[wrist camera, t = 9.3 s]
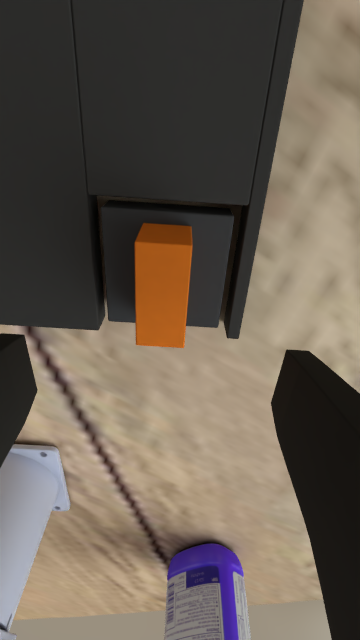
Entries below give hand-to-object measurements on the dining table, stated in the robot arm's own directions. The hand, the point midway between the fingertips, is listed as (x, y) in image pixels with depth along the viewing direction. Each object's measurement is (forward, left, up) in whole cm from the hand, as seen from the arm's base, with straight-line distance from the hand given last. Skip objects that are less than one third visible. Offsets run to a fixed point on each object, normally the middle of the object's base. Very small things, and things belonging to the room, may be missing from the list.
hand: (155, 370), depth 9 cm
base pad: (-4, +4, -8) cm, 10 cm away
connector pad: (0, 0, -8) cm, 8 cm away
